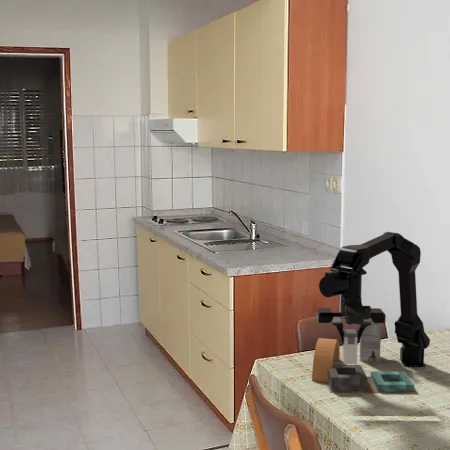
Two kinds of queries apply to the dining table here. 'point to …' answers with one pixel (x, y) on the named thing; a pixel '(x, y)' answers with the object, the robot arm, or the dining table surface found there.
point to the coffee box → (370, 343)
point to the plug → (349, 346)
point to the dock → (367, 381)
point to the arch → (324, 358)
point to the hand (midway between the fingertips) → (349, 344)
